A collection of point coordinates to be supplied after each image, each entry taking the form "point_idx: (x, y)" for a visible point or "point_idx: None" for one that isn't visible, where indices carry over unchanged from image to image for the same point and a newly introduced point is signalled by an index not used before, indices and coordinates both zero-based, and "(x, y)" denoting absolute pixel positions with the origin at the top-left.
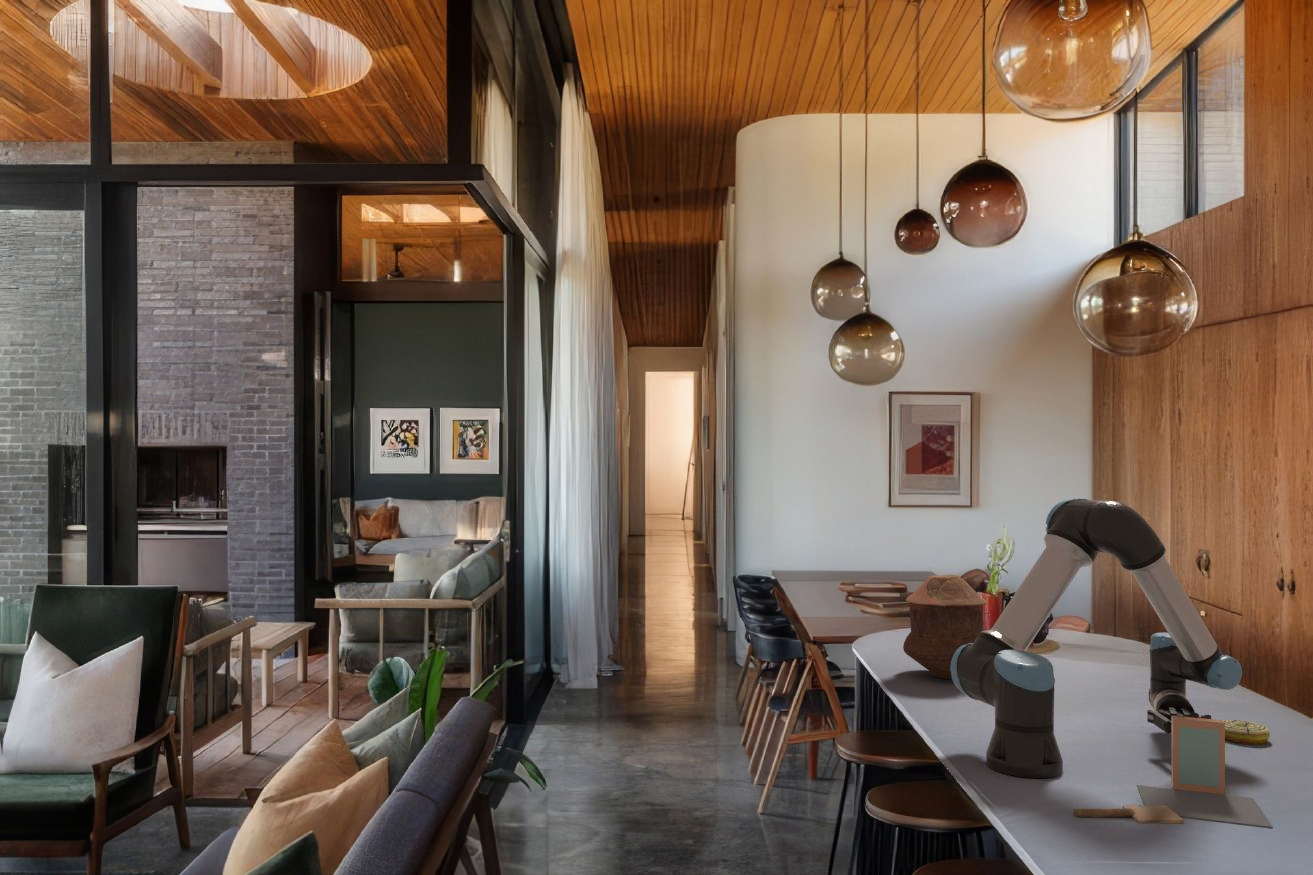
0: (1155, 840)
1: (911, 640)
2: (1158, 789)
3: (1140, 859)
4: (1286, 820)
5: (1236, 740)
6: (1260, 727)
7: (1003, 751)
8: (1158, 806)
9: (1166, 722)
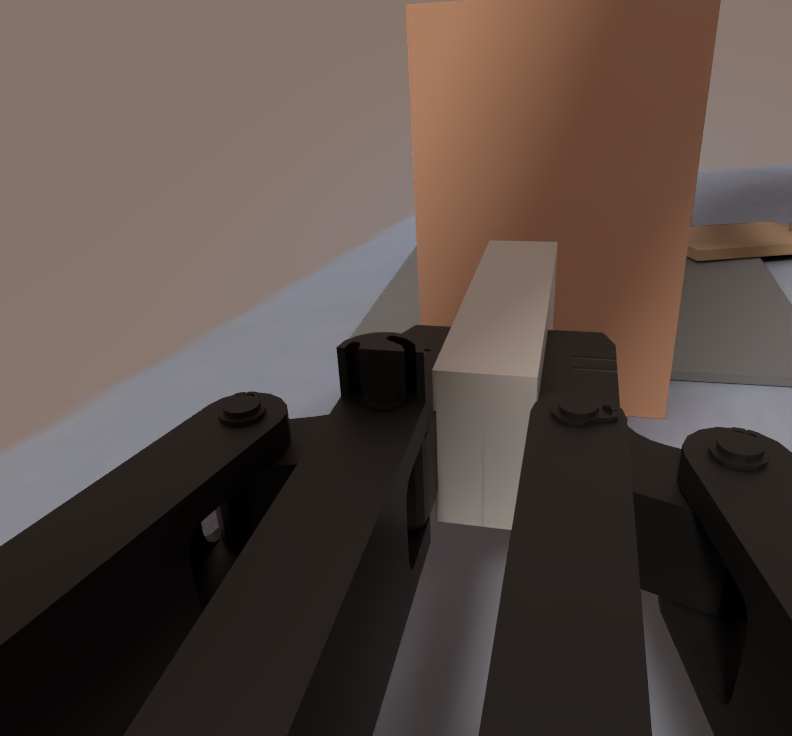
0: (720, 202)
1: None
2: (730, 358)
3: (744, 174)
4: (339, 281)
5: None
6: None
7: None
8: (722, 248)
9: (771, 452)
